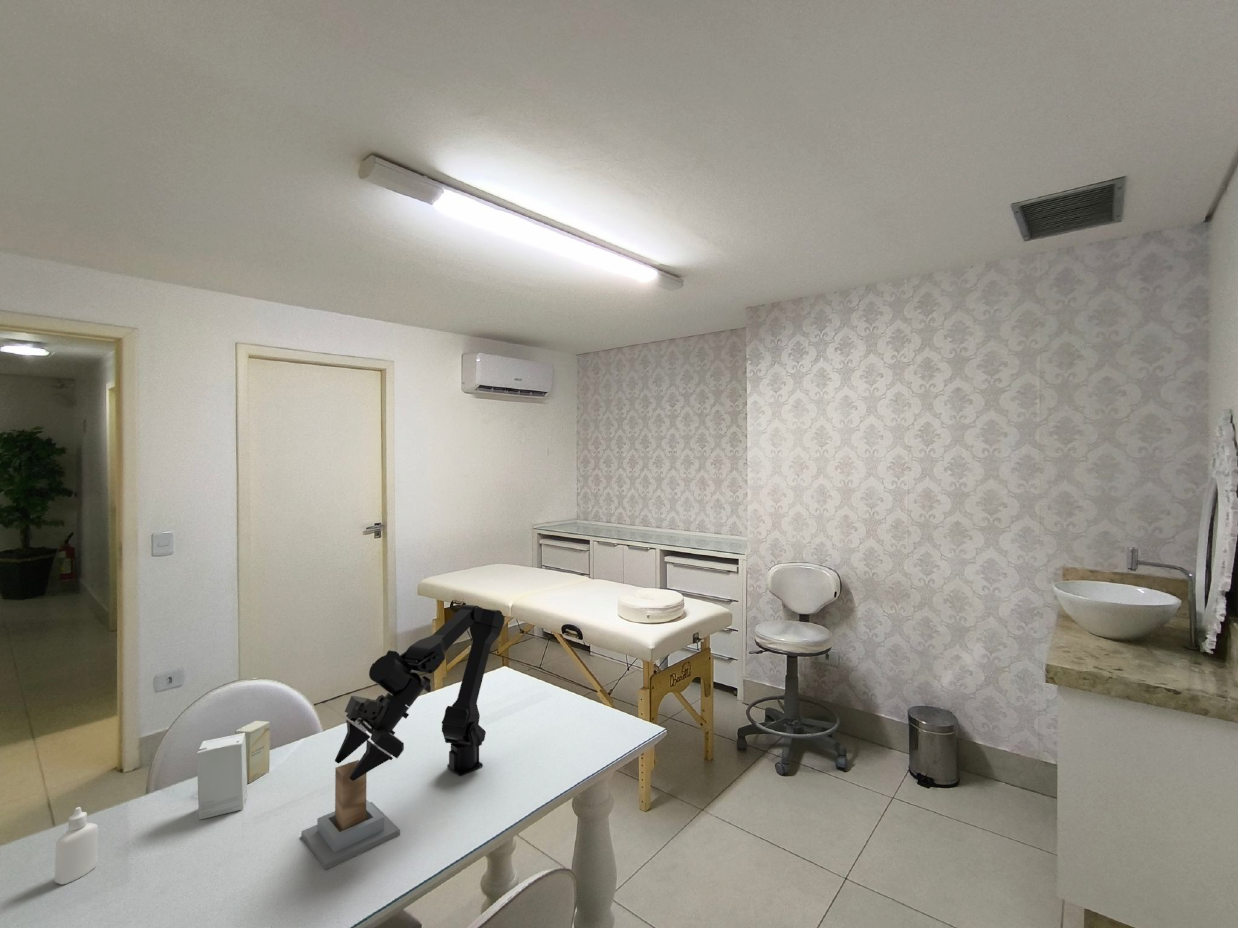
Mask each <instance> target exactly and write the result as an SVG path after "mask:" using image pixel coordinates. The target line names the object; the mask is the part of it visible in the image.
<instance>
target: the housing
mask: <svg viewBox="0 0 1238 928" xmlns="http://www.w3.org/2000/svg"><path fill="white" fill-rule="evenodd" d="M316 821H317V822H316V823H317V824H315V825H313V826H311V827H308V828H305V829H303V830H301V831H300V832H301V838H302V839H303V840H304V841H305V843H306V845H307V846H308V847H309V849H310V850H311V851H312V853H313V854H314V855H315V857H316V859H318V862H319V863H320V864H321V865H322V867H323V868H324V870H328V869H330V868H332V867H334V866H336V865H338V864H341V863H343V862H345V861H348V860H349V859H350V858H351V859H352V858H353V857H355V856H357V855H359V854H362V853H363V852H366V851H368V850H370V849H372V848H374V847H377V846H378V845H381V844H383V843H385V842H387V841H389V840H391V839H393V838H395V837H397V836H400V835H401V829H400V828H399V827H398V826H397V825H396V824H395V823H394V822H393V821H392V820H391V819H390V818H389V817H388V816H387V815H386V814H385V813H384V812H383V811H382V810H381V809H380V808H379V807H378V806H377V805H376V804H375V803H373V802H372V801H368V800H367V799H366V821H364V822H362V823H360V824H357V825H355V826H353V827H350V828H348V829H346V830H344V831H341V832H339V831H338V829H337V828H336V827H335V810H334V811H332V812H329V813H327V814H324V815H322V816H319V817H318V818H317V820H316Z"/></svg>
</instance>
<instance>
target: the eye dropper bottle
mask: <svg viewBox="0 0 1238 928" xmlns="http://www.w3.org/2000/svg"><path fill="white" fill-rule="evenodd" d="M67 827H68V829H67V831H66V832H65V833H63V834H62V835H61V836H60V837H59V838H58V839H57V840H56V843H55V853H54V854H55V858H54V883H55V884H59V885H66V884H69V883H72V882H74V881H75V880H77V879H79V878H82V877H83V876H85V875H87V874H88V873H91V871H93V870H94V869H95V868H96V867H97V866H98V863H99V862H98V861H99V825H97V824H96V823H93V822H88V813H87V812H86V811H82V807H81V806H77V807H76V808H75V810H74V813H73V814H72V815H70V816H69V818H68V826H67Z"/></svg>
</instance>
